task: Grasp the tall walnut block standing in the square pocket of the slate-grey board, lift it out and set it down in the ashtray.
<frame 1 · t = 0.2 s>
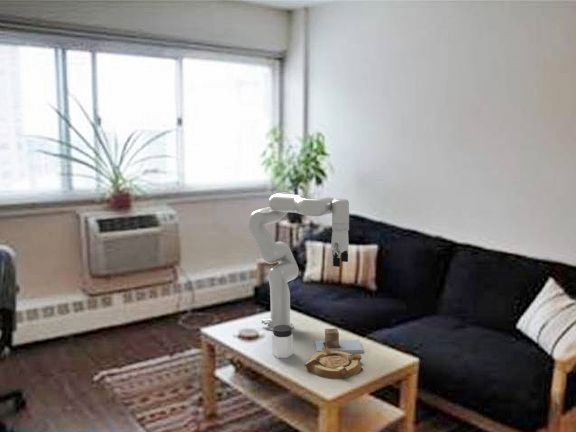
hand: (340, 263, 254), 36 cm above the table, tool pointing down, fingers open, 9 cm apart
ashtray: (333, 367, 233), on the table
pocket board: (338, 348, 251), on the table
jar: (282, 354, 245), on the table
block: (331, 348, 251), resting on pocket board
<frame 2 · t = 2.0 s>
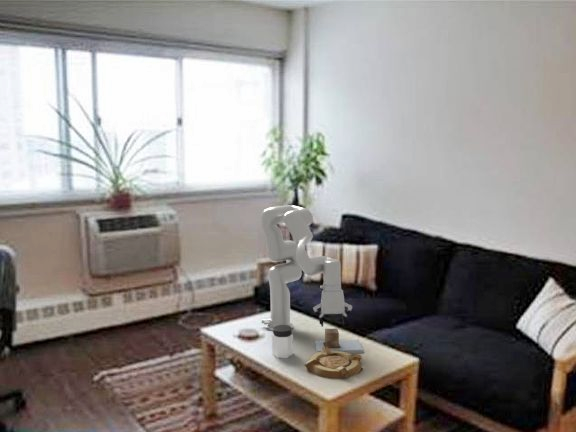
hand: (332, 325, 249), 11 cm above the table, tool pointing down, fingers open, 9 cm apart
nothing on the table moved.
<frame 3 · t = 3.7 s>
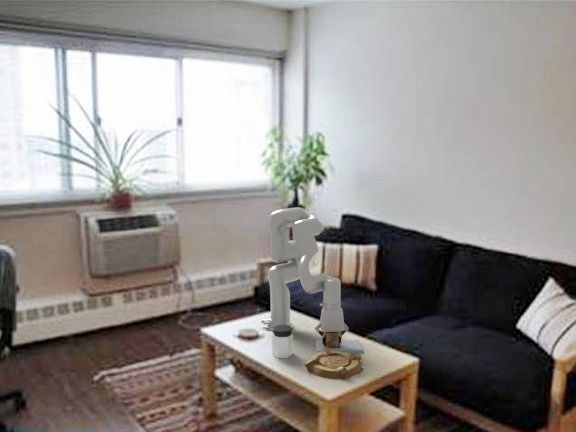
hand: (331, 344, 251), 2 cm above the table, tool pointing down, fingers closed on block, 5 cm apart
block: (331, 348, 251), resting on pocket board, touching gripper
everything else where it was.
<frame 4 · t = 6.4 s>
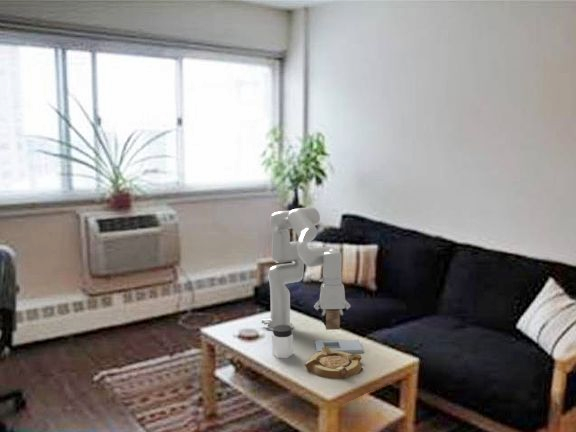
hand: (332, 323, 232), 18 cm above the table, tool pointing down, fingers closed on block, 5 cm apart
block: (332, 327, 232), point 16 cm above the table, touching gripper
everything else where it was.
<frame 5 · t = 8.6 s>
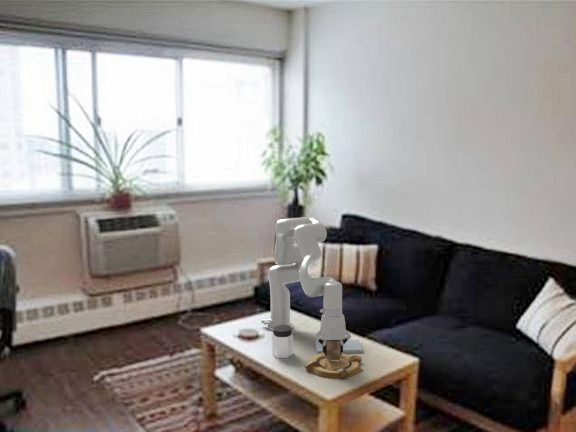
hand: (332, 353, 232), 5 cm above the table, tool pointing down, fingers closed on block, 5 cm apart
block: (332, 357, 232), point 4 cm above the table, touching gripper
everything else where it was.
when the fingers open (5 cm above the table, at t = 9.2 s): block stays where it is, resting on ashtray.
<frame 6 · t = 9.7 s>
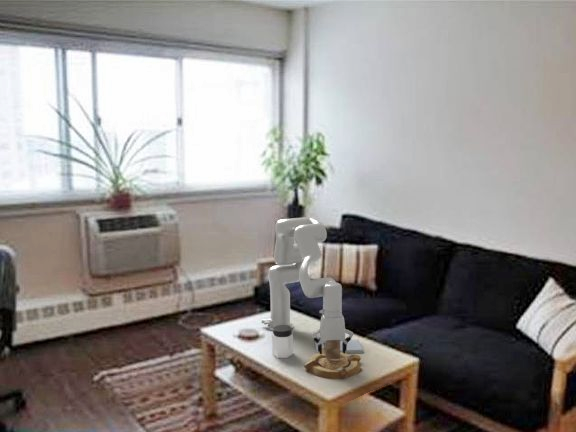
hand: (332, 352, 232), 6 cm above the table, tool pointing down, fingers open, 9 cm apart
ashtray: (332, 368, 232), on the table, touching block
block: (332, 356, 232), point 4 cm above the table, touching ashtray
everything else where it was.
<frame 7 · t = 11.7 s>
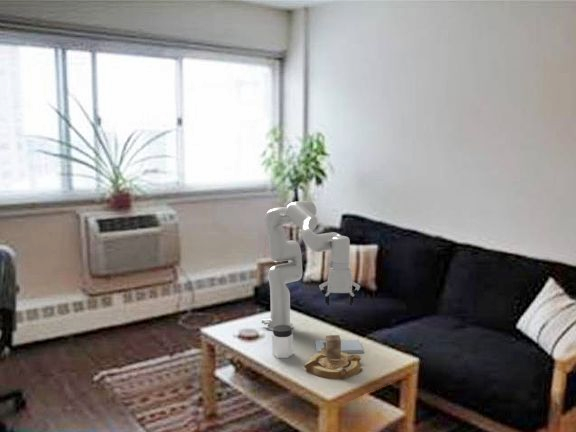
hand: (339, 304, 239), 23 cm above the table, tool pointing down, fingers open, 9 cm apart
nothing on the table moved.
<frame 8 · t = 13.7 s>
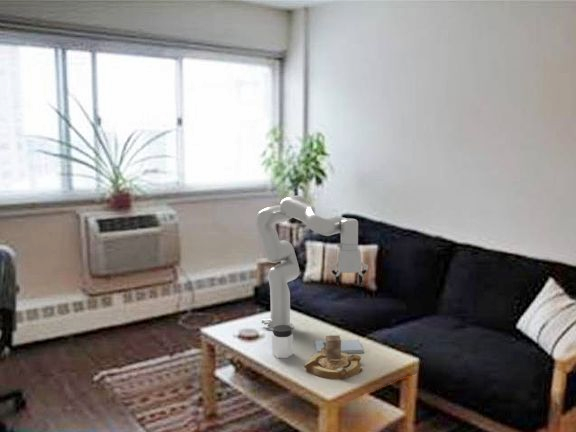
hand: (348, 284, 251), 28 cm above the table, tool pointing down, fingers open, 9 cm apart
ashtray: (332, 368, 232), on the table
block: (333, 356, 232), point 4 cm above the table
everything else where it was.
at the end: block 0.5 cm from the ashtray (horizontally); block point 4.4 cm above the table; the gripper is holding nothing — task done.
